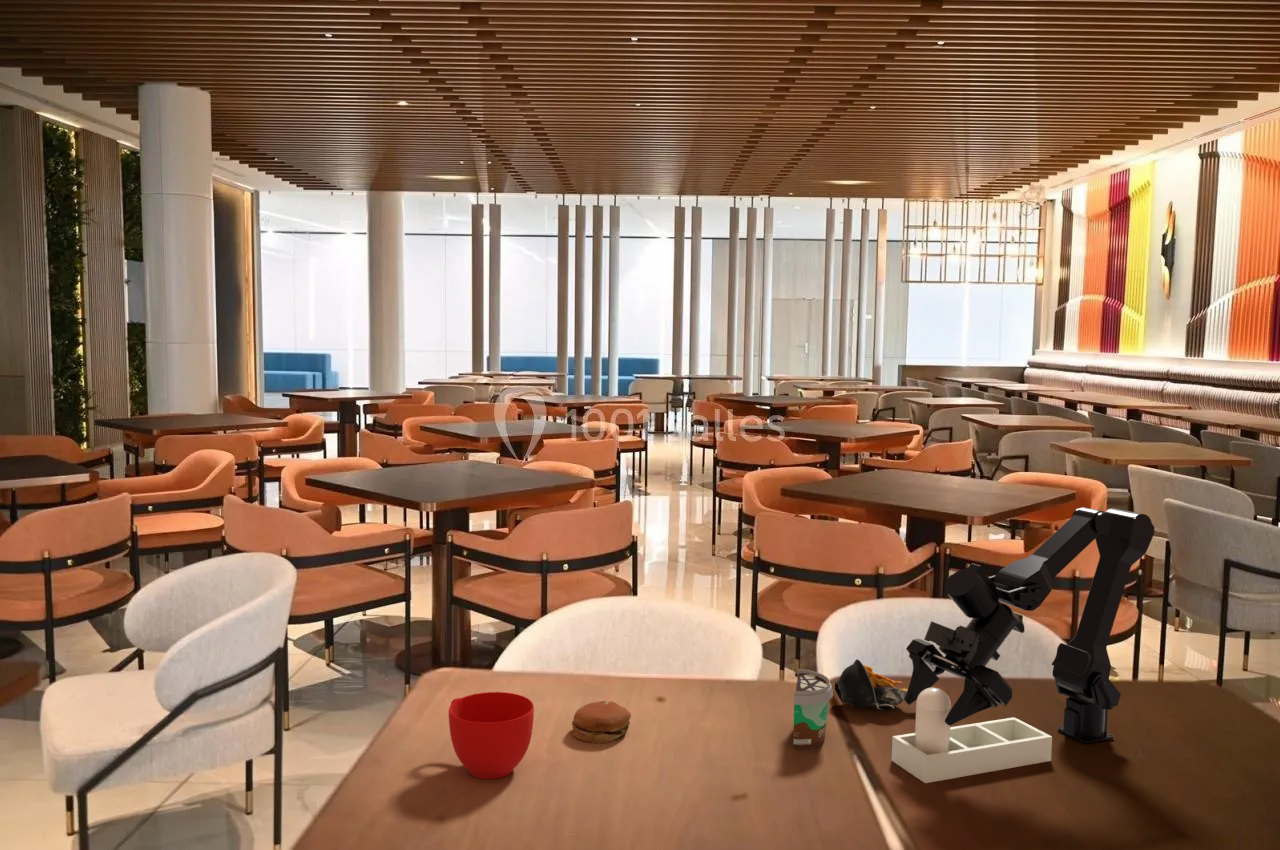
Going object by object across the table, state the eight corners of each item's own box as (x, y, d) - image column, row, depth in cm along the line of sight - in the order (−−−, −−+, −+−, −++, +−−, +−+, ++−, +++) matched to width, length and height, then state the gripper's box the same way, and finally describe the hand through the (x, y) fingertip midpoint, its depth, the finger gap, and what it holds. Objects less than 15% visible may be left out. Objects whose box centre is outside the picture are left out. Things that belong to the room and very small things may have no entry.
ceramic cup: (485, 738, 167) (485, 679, 166) (550, 770, 155) (551, 707, 154) (418, 760, 158) (417, 698, 157) (481, 797, 146) (481, 730, 145)
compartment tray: (1013, 740, 169) (1014, 717, 169) (1050, 760, 161) (1052, 736, 161) (891, 760, 160) (892, 736, 160) (925, 783, 153) (926, 757, 152)
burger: (574, 746, 165) (575, 718, 165) (570, 724, 174) (570, 698, 174) (634, 743, 166) (635, 716, 166) (627, 722, 176) (627, 696, 175)
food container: (831, 755, 162) (833, 695, 161) (792, 752, 163) (794, 692, 162) (832, 726, 174) (834, 670, 173) (796, 723, 175) (797, 667, 174)
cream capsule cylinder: (944, 754, 160) (947, 683, 159) (952, 768, 155) (955, 695, 154) (911, 752, 161) (914, 682, 160) (917, 766, 156) (920, 693, 154)
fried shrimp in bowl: (824, 670, 189) (913, 639, 190) (846, 729, 186) (937, 696, 187) (832, 668, 180) (925, 635, 182) (855, 729, 177) (950, 695, 178)
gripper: (917, 590, 166) (860, 663, 162) (1001, 620, 149) (940, 703, 145) (952, 631, 170) (898, 704, 166) (1038, 665, 153) (979, 747, 149)
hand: (926, 713), depth 157 cm, fingers open, 9 cm apart
